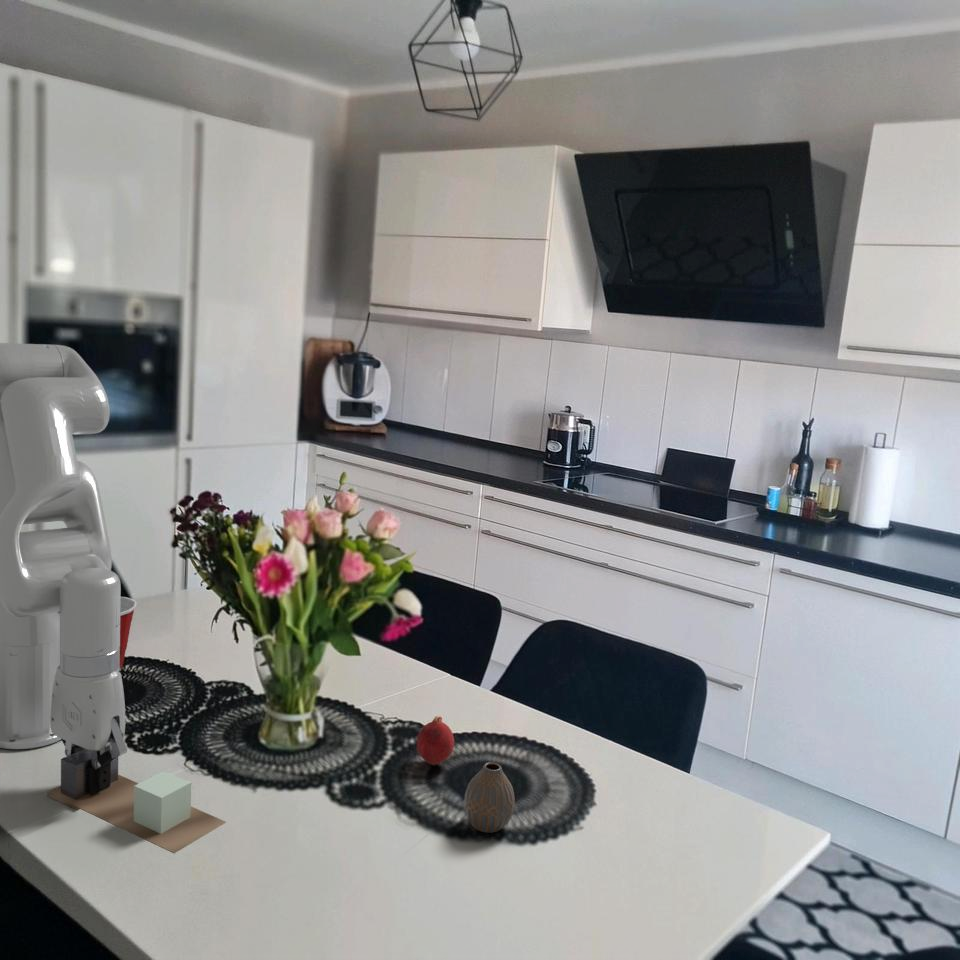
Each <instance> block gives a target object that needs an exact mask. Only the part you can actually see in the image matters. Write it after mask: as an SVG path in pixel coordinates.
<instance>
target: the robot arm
mask: <svg viewBox="0 0 960 960" xmlns="http://www.w3.org/2000/svg"><path fill="white" fill-rule="evenodd" d="M109 403H110V402H109V399H108V395H107V392H106V390H105V388H104V386H103V384H102V383H101V381H100V379H99V377H98V376H97V375H96V373H95V372H94V370H92V368H91V367H90V366H89V365H88V364H87V363H86V361H85V360H84V359H83V357H82V356H81V355H80V354H79V353H78V352H77V351H76V350H75V349H74V348H72V347H69V346H67V345H61V344H45V343H43V344H42V343H39V344H38V343H36V344H35V343H18V342H17V343H16V342H15V343H14V342H13V343H12V342H11V343H10V342H0V749H6V750H29V749H37V748H41V747H45V746H48V745H52V744H54V743H57V742H59V741H62V744H63V745H64V755H65V757H67V756H69V755H71V754H74V753H76V752H78V751H81V750H83V749H87V750H90V751H91V760H92V766H91V767H89V777H88V792H89V794H91V795H94V794H96V793H98V792H100V791H103V790H105V789H107V788H109V787H110V782H111V762H113V761H114V759H115V758H116V757H118V758H119V757H121V756H122V755H125V754H127V753H128V748H127V746H126V745H127V744H126V743H125V740H124V737H125V734H126V733H125V732H126V704H125V692H124V685H123V679H122V674H121V672H120V670H121V669H120V599H121V597H122V596H121V593H122V592H121V590H122V589H121V588H122V587H121V580H120V577H119V576H118V574H117V573H115V572H114V571H113V570H112V562H113V561H112V550H111V546H110V545H111V544H110V538H109V535H108V530H107V529H108V528H107V524H106V523H107V522H106V518H105V514H104V513H105V512H104V509H103V508H104V507H103V504H102V503H103V502H102V499H101V494H100V493H101V492H100V488H99V485H98V482H97V481H98V480H97V478H96V476H95V474H94V472H93V471H92V469H91V468H90V467H89V465H87V464H86V463H84V462H83V461H80V460H78V458H77V452H76V448H75V441H74V437H73V435H75V436H76V435H94V434H99V433H101V432H102V431H104V430H105V429H106V427H107V426H108V424H109V422H110V416H111V415H110V410H111V408H110V407H111V406H110V404H109ZM51 522H63V523H64V524H65V526H66V527H64V528H63V527H62V528H54V529H53V528H52V529H47V528H46V529H39V530H38V529H37V530H30V531H29V530H28V531H21V530H22V526H23V525H32V524H33V525H34V524H41V523H43V524H44V523H51ZM102 748H104V749H105V752H104V753H103V754H102V755H101V756H100V749H102Z"/></svg>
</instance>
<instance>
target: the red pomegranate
mask: <svg viewBox="0 0 960 960" xmlns="http://www.w3.org/2000/svg"><path fill="white" fill-rule="evenodd" d="M442 720H443V717H442V716H441V715H435V716H434V718H433V720H432V721H430V722H428V723H426V724H425V725H424V726H423V727H422V728H421V729H420V730H419V732H418V734H417V737H416V750H417V752H418V755H419V756H420V757H421V758H422V759H423V761H425V762H426V763H428V764H429V765H431V766H437V765H438V764H441V763H442V762H444V761H446V760H447V759H448V758H449V757H450V756H451V754H452V753H453V751H454V748H455V738H454V734H453V731H452V730H451V728H450V727H449V726H448V724H446V723H444V722H443V721H442Z"/></svg>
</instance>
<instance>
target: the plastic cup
mask: <svg viewBox="0 0 960 960" xmlns="http://www.w3.org/2000/svg"><path fill="white" fill-rule="evenodd" d="M137 604H138V603H137V601H136V600H135V599H133V598H130V597H126V596H121V599H120V669H119V670H121V669H122V668H123V665H124V662H125V661H124V660H125V656H126V651H127V648H128V643H129V638H130V637H129V636H130V631H131V626H132V621H133V615H134V611H135V609H136V607H137Z"/></svg>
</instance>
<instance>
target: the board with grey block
mask: <svg viewBox="0 0 960 960" xmlns="http://www.w3.org/2000/svg"><path fill="white" fill-rule="evenodd" d="M104 752H105V749H104V748H102V749H100V756H101V755H102V754H103V753H104ZM91 766H92V760H91V751H90V750H87V749H83V750H81V751H78V752H76V753H74V754H71V755H69V756H65V757H62V758H61V759H60V786H58V787H56V788H54V789H51V790H49V791H47V793H46V796H47V797H49V798H51V799H53V800H54V801H57V802H59V803H61V804H62V805H63V804H64V805H65V806H67V807H70V808H72V809H73V810H76V811H79V810H82V811H85V812H87V813H89V814H91V815H93V816H95V817H97V818H99V819H101V820H104V821H105V822H107V823H110V824H112V825H114V826H116V827H118V828H119V829H122V830H124V831H127V832H128V833H130V834H133V835H135V836H137V837H139V838H141V839H143V840H145V841H147V842H150V843H152V844H154V845H156V846H158V847H160V848H162V849H165V850H167V851H169V852H170V853H173V854H176V853H177V852H179V851H181V850H182V849H184V848H186V847H187V846H189V845H191V844H192V843H194V842H195V841H197V840H199V839H200V838H202V837H204V836H206V835H207V834H209V833H210V832H212V831H214V830H216V829H217V828H219V827H221V826H222V825H225V824H226V823H227V821H226V820H223V819H220V818H219V817H216V816H215V815H211V814H210V813H207V812H205V811H203V810H200V809H198V808H195V807H193V806H191V808H190V818H188V819H186V820H185V821H183V822H181V823H179V824H177V825H176V826H174V827H172V828H170V829H169V830H167V831H165V832H163V833H162V834H160V833H158V832H156V831H154V830H152V829H150V828H147V827H145V826H143V825H141V824H139V823H137V822H135V821H134V786H135V785H137V784H139V783H140V782H139V783H138V781H137V782H136V781H134V780H132V779H130V778H127V777H125V776H123V775H120V774H119V756H118V757H116V758H115V759H114V761H113V762H111V782H110V787H109V788H107V789H105V790H103V791H100V792H98V793H96V794H94V795H91V794H89V792H88V777H89V767H91Z"/></svg>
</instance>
